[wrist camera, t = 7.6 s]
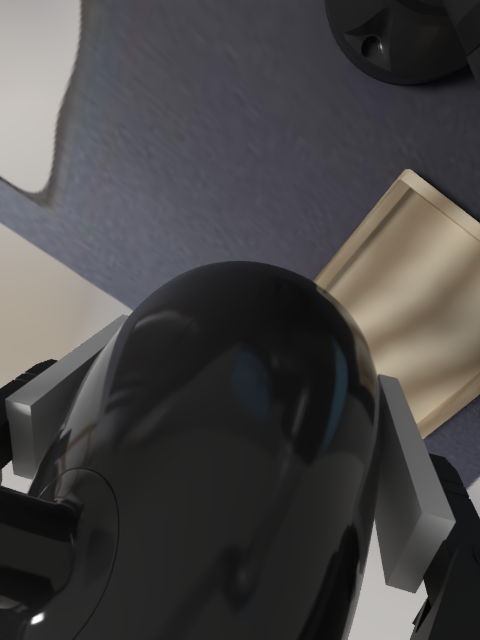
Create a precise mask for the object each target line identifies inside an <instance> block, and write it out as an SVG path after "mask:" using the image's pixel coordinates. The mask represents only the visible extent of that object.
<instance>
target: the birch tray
mask: <svg viewBox="0 0 480 640" xmlns="http://www.w3.org/2000/svg"><path fill="white" fill-rule="evenodd" d="M313 282H314V283H316V284H317V285H319V286H320V287H322V288H323V289H325V290H326V291H327V292H328V293H330V294H331V295H332V296H333V297H334V298H336V299H337V300H338V301H339V302H340V303H341V304H342V305H343V306H344V307H345V309H346V310H347V311H348V312H349V313H350V314H351V316H352V317H353V318H354V320H355V321H356V323H357V324H358V326H359V327H360V329H361V331H362V333H363V335H364V336H365V338H366V341H367V343H368V345H369V348H370V351H371V353H372V357H373V360H374V363H375V367H376V371H377V376H378V374H382V375H386V376H390V377H395V378H398V380H399V382H400V385H401V387H402V390H403V392H404V395H405V397H406V400H407V402H408V405H409V407H410V410H411V412H412V415H413V417H414V420H415V422H416V424H417V427H418V429H419V432H420V434H421V437H422V439H424V438H425V437H426V436H428V435H429V434H430V433H431V432H433V431H434V430H435V429H436V428H438V427H439V426H440V425H442V424H443V423H444V422H445V421H447V420H448V419H449V418H450V417H452V416H453V415H454V414H455V413H457V412H458V411H459V410H461V409H462V408H463V407H464V406H466V405H467V404H468V403H469V402H471V401H472V400H473V399H474V398H476V397H477V396H478V395H479V394H480V223H479V222H477V221H476V220H475V219H474V218H472V217H471V216H470V215H468V214H467V213H466V212H465V211H463V210H462V209H461V208H459V207H458V206H457V205H456V204H454V203H453V202H452V201H450V200H449V199H448V198H447V197H445V196H444V195H443V194H441V193H440V192H439V191H438V190H436V189H435V188H434V187H432V186H431V185H430V184H429V183H427V182H426V181H425V180H423V179H422V178H421V177H419V176H418V175H417V174H416V173H414V172H413V171H412V170H410V169H405V170H404V171H403V172H402V173H401V174H400V176H399V177H398V178H397V179H396V181H395V182H394V183H393V184H392V185H391V187H390V188H389V189H388V190H387V191H386V193H385V194H384V195H383V196H382V198H381V199H380V200H379V201H378V202H377V204H376V205H375V206H374V207H373V209H372V210H371V211H370V212H369V213H368V215H367V216H366V217H365V218H364V219H363V221H362V222H361V223H360V224H359V226H358V227H357V228H356V229H355V230H354V232H353V233H352V234H351V235H350V237H349V238H348V239H347V240H346V241H345V243H344V244H343V245H342V246H341V248H340V249H339V250H338V251H337V252H336V254H335V255H334V256H333V257H332V258H331V260H330V261H329V262H328V263H327V265H326V266H325V267H324V268H323V269H322V271H321V272H320V273H319V274H318V276H317V277H316V278H315V279H314V280H313Z"/></svg>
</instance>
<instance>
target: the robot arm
mask: <svg viewBox="0 0 480 640" xmlns="http://www.w3.org/2000/svg"><path fill="white" fill-rule="evenodd" d="M325 7H326V13H327V17H328V21H329V25H330V28H331V31H332V33H333V35H334V38H335V40H336V42H337V44H338V45H339V47H340V49H341V50H342V52H343V53H344V54H345V56H346V57H347V58H348V59H349V60H350V61H351V62H352V63H353V64H354V65H355V66H356V67H357V68H358V69H360V70H361V71H362V72H364V73H366V74H367V75H369V76H371V77H373V78H375V79H378V80H380V81H383V82H387V83H392V84H399V85H415V84H422V83H427V82H431V81H435V80H438V79H441V78H444V77H446V76H448V75H450V74H453V73H455V72H456V71H458V70H460V69H462V68H463V67H465V66H467V65H468V64H469V65H470V68H471V70H472V72H473V75H474V77H475V79H476V82H477V84H478V86H479V89H480V0H325ZM128 317H129V316H126V315H122V316H120V317H119V318H117V319H116V320H115V321H113V322H112V323H111V324H109V325H108V326H106V327H105V328H104V329H102V330H101V331H99V332H98V333H97V334H95V335H94V336H92V337H91V338H90V339H88V340H87V341H86V342H84V343H83V344H81V345H80V346H79V347H77V348H76V349H74V350H73V351H72V352H70V353H69V354H67V355H66V356H65V357H63V358H62V359H60V360H59V361H57V360H53V359H50V360H47V361H44V362H41V363H39V364H36V365H35V366H33V367H32V368H30V369H29V370H27V371H26V372H25V374H21V375H20V376H18V377H17V378H16V379H15V380H12V381H11V382H9V383H8V384H7V385H5V386H3V387H2V388H1V389H0V486H1V482H2V468H3V467H5V465H7V464H8V463H9V462H10V461H11V460H12V464H13V471H14V474H15V475H18V476H21V477H25V478H28V479H33V477H34V474H35V472H36V470H37V467H38V465H39V463H40V461H41V458H42V456H43V454H44V452H45V450H46V447H47V445H48V443H49V441H50V439H51V437H52V435H53V433H54V430H55V428H56V426H57V424H58V422H59V420H60V418H61V416H62V415H63V413H64V411H65V409H66V407H67V405H68V403H69V401H70V400H71V398H72V396H73V394H74V393H75V391H76V389H77V387H78V386H79V384H80V382H81V381H82V379H83V377H84V376H85V374H86V373H87V371H88V369H89V368H90V366H91V365H92V363H93V362H94V360H95V359H96V357H97V356H98V355H99V353H100V352H101V351H102V349H103V348H104V346H105V345H106V344H107V342H108V341H109V340H110V339H111V337H112V336H113V335H114V334H115V332H116V331H117V330H118V329H119V328H120V326H121V325H122V324H123V323H124V322H125V320H126V319H127V318H128ZM378 382H379V389H380V400H381V462H380V476H379V486H378V495H377V503H376V510H375V516H374V518H375V524H376V530H377V536H378V541H379V547H380V553H381V559H382V565H383V571H384V576H385V582H386V585H389V586H392V587H395V588H399V589H402V590H405V591H408V592H412V593H416V591H417V590H418V588H419V586H420V584H421V583H422V581H423V580H424V583H425V587H426V591H427V595H428V598H427V599H426V601H425V602H424V604H423V606H422V608H421V609H420V611H419V613H418V614H417V616H416V618H415V620H414V621H413V624H414V625H415V627H414V630H413V633H412V635H411V638H410V640H480V518H479V516H478V514H477V512H476V510H475V508H474V506H473V503H472V502H471V499H469V495H468V493H467V491H466V489H465V487H463V482H462V480H461V478H460V476H459V474H458V472H457V470H456V469H455V468H454V467H453V466H452V465H451V464H450V463H449V462H448V461H447V459H446V458H445V457H441V456H437V455H433V454H429V453H428V452H427V449H426V447H425V444H424V442H423V439H422V437H421V434H420V432H419V429H418V427H417V424H416V422H415V420H414V417H413V415H412V412H411V410H410V407H409V405H408V402H407V400H406V397H405V395H404V392H403V390H402V387H401V385H400V382H399V380H398V378H395V377H390V376H386V375H382V374H378Z"/></svg>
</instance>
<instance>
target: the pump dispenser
mask: <svg viewBox="0 0 480 640" xmlns="http://www.w3.org/2000/svg"><path fill="white" fill-rule="evenodd" d="M380 462H381V400H380V389H379V382H378V376H377V371H376V367H375V363H374V360H373V357H372V353H371V351H370V348H369V345H368V343H367V341H366V338H365V336H364V335H363V333H362V331H361V329H360V327H359V326H358V324H357V323H356V321H355V320H354V318H353V317H352V316H351V314H350V313H349V312H348V311H347V310H346V309H345V307H344V306H343V305H342V304H341V303H340V302H339V301H338V300H337V299H336V298H334V297H333V296H332V295H331V294H330V293H328V292H327V291H326V290H325V289H323V288H322V287H320V286H319V285H317V284H316V283H314V282H313V281H311V280H309V279H307V278H305V277H303V276H301V275H299V274H297V273H295V272H292V271H290V270H287V269H284V268H281V267H278V266H274V265H270V264H265V263H259V262H250V261H227V262H219V263H213V264H208V265H204V266H200V267H197V268H194V269H192V270H189V271H187V272H185V273H182V274H180V275H179V276H177V277H175V278H173V279H171V280H170V281H168V282H167V283H165V284H164V285H162V286H161V287H160V288H158V289H157V290H156V291H154V292H153V293H152V294H151V295H150V296H148V297H147V298H146V299H145V300H144V301H143V302H142V303H141V304H140V305H139V306H138V307H137V308H136V309H135V310H134V311H133V312H132V314H131V315H130V316H129V317H128V318H127V319H126V320H125V322H124V323H123V324H122V325H121V326H120V328H119V329H118V330H117V331H116V332H115V334H114V335H113V336H112V337H111V339H110V340H109V341H108V342H107V344H106V345H105V346H104V348H103V349H102V351H101V352H100V353H99V355H98V356H97V357H96V359H95V360H94V362H93V363H92V365H91V366H90V368H89V369H88V371H87V373H86V374H85V376H84V377H83V379H82V381H81V382H80V384H79V386H78V387H77V389H76V391H75V393H74V394H73V396H72V398H71V400H70V401H69V403H68V405H67V407H66V409H65V411H64V413H63V415H62V416H61V418H60V420H59V422H58V424H57V426H56V428H55V430H54V433H53V435H52V437H51V439H50V441H49V443H48V445H47V447H46V450H45V452H44V454H43V456H42V458H41V461H40V463H39V465H38V467H37V470H36V472H35V474H34V477H33V479H32V482H31V484H30V486H29V489H28V492H27V494H25V493H22V492H19V491H16V490H13V489H10V488H6V487H4V486H0V640H348V636H349V633H350V629H351V626H352V622H353V619H354V615H355V611H356V607H357V603H358V599H359V595H360V590H361V586H362V581H363V577H364V572H365V567H366V562H367V557H368V551H369V546H370V540H371V534H372V528H373V522H374V516H375V510H376V503H377V495H378V486H379V476H380Z"/></svg>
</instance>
